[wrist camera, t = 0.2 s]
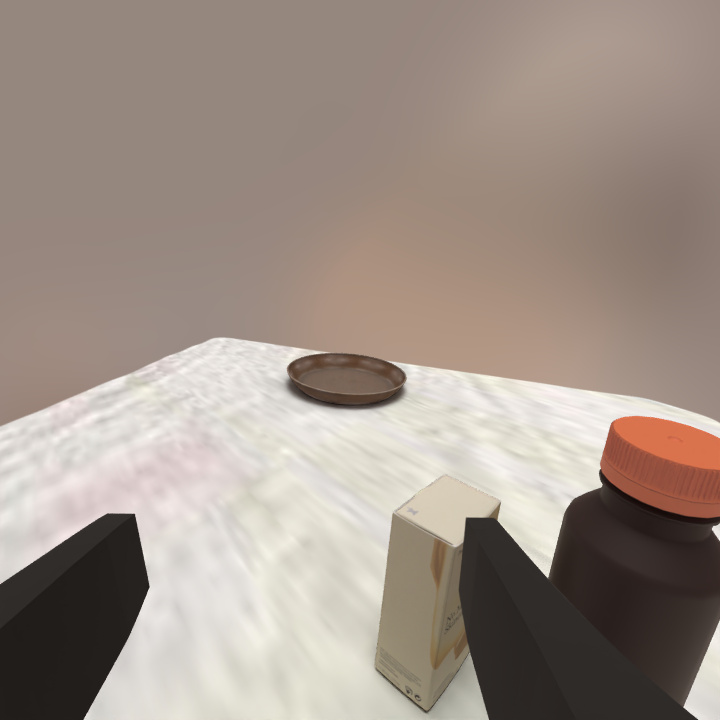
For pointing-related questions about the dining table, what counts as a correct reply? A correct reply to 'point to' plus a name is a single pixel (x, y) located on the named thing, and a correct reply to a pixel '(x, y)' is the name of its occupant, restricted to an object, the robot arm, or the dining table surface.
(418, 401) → the dining table surface
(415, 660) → the skincare box
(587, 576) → the bottle
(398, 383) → the plant saucer
